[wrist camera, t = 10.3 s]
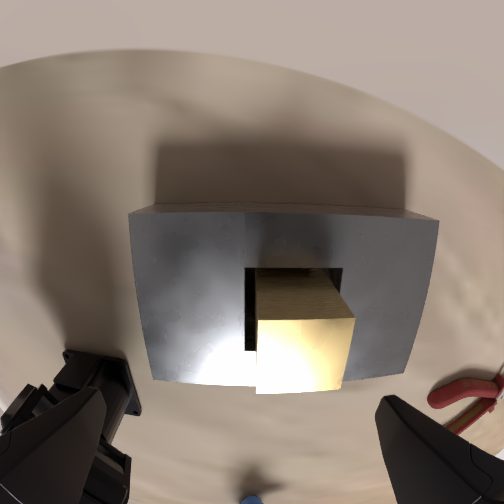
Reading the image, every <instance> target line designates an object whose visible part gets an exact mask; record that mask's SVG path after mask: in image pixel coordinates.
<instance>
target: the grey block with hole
mask: <svg viewBox="0 0 504 504" xmlns="http://www.w3.org/2000/svg"><path fill="white" fill-rule="evenodd" d="M128 215H129V230H130V242H131V252H132V261H133V270H134V278H135V286H136V293H137V299H138V306H139V312H140V318H141V324H142V329H143V334H144V340H145V345H146V349H147V354H148V359H149V363H150V368H151V372H152V376H153V379H154V380H162V381H172V382H182V383H195V384H211V385H237V386H256V352H255V317H254V316H246V267H258V268H322V269H323V270H324V272H325V273H326V275H327V276H328V278H329V279H330V281H331V282H332V283H333V285H334V286H335V288H336V289H337V291H338V292H339V294H340V295H341V297H342V298H343V299H344V301H345V302H346V304H347V305H348V307H349V308H350V310H351V311H352V313H353V314H354V316H355V317H356V319H355V324H354V329H353V334H352V339H351V344H350V349H349V354H348V358H347V362H346V367H345V371H344V375H343V379H342V381H351V380H360V379H367V378H375V377H381V376H388V375H394V374H400V373H404V370H405V368H406V365H407V362H408V359H409V356H410V353H411V350H412V347H413V344H414V341H415V337H416V334H417V330H418V327H419V323H420V320H421V316H422V312H423V308H424V304H425V300H426V296H427V292H428V287H429V282H430V277H431V272H432V267H433V262H434V256H435V250H436V243H437V236H438V228H439V220H436V219H433V218H430V217H427V216H424V215H420V214H417V213H414V212H411V211H408V210H402V209H389V208H375V207H359V206H340V205H318V204H287V203H171V204H153V205H150V206H148V207H145V208H142V209H140V210H137V211H134V212H132V213H129V214H128Z"/></svg>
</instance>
